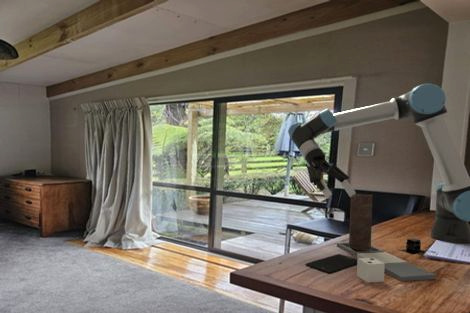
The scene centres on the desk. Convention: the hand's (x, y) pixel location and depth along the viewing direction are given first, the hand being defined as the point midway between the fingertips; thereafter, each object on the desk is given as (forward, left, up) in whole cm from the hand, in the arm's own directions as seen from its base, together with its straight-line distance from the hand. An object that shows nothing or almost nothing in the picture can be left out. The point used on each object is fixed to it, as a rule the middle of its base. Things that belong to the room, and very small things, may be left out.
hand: (341, 195), depth 129 cm
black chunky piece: (-24, +10, -19) cm, 32 cm away
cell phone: (+13, +19, -19) cm, 30 cm away
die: (+9, +32, -18) cm, 38 cm away
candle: (-4, +7, -19) cm, 20 cm away
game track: (-4, +18, -18) cm, 26 cm away
